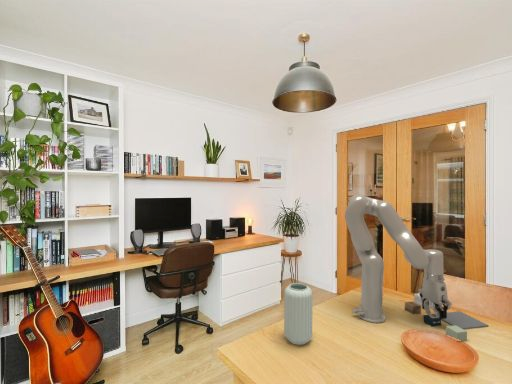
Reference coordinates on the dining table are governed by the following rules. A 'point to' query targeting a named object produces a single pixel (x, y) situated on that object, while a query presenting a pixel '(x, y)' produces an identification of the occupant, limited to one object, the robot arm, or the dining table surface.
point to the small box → (418, 300)
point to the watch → (432, 318)
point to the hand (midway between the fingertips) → (434, 313)
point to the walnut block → (413, 307)
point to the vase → (298, 313)
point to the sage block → (456, 332)
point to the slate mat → (463, 320)
